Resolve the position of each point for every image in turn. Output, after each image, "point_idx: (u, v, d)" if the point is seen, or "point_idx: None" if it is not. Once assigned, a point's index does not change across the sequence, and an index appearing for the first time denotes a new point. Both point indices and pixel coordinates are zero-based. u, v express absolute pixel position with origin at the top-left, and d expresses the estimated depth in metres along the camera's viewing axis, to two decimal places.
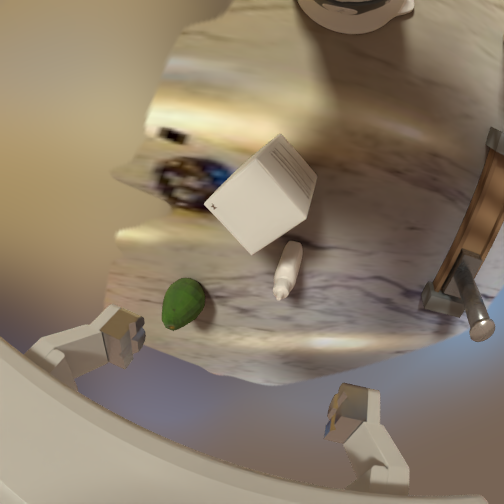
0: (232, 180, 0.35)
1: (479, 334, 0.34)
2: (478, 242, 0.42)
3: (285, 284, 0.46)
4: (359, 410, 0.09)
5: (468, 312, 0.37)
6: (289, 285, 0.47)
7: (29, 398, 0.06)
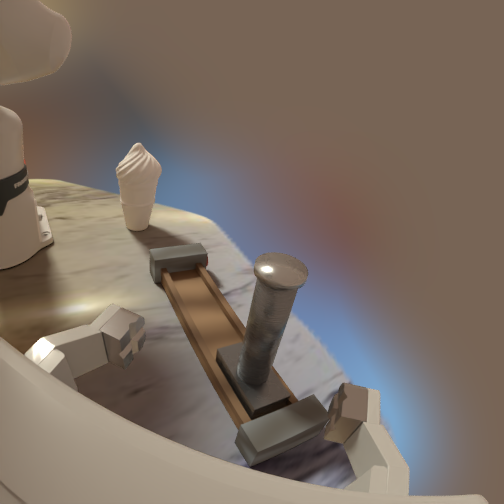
0: None
1: (283, 272, 0.23)
2: (230, 344, 0.36)
3: None
4: (359, 410, 0.09)
5: (255, 310, 0.25)
6: None
7: (29, 398, 0.06)
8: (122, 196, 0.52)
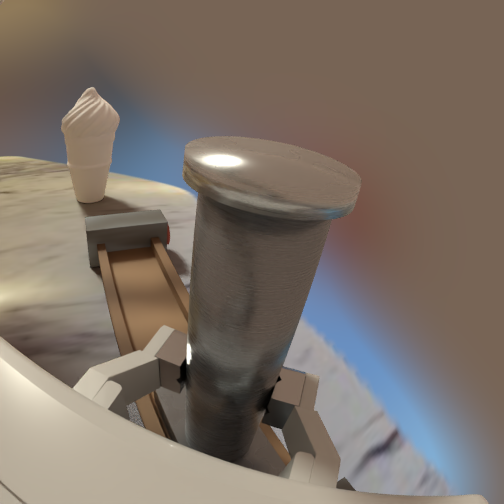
0: None
1: (281, 164, 0.06)
2: None
3: None
4: (292, 394, 0.10)
5: (197, 304, 0.08)
6: None
7: (29, 398, 0.06)
8: (68, 156, 0.36)
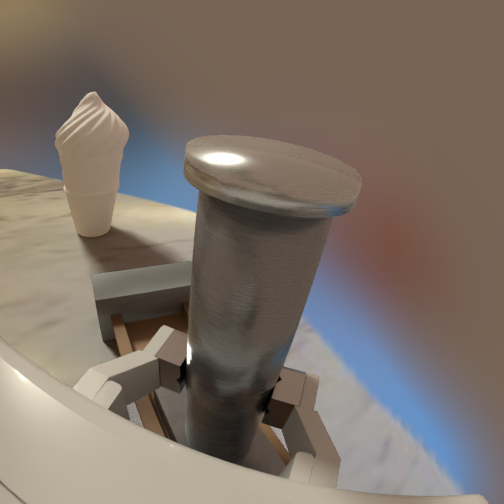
0: None
1: (282, 162, 0.06)
2: None
3: None
4: (292, 394, 0.10)
5: (198, 303, 0.08)
6: None
7: (29, 398, 0.06)
8: (64, 180, 0.29)
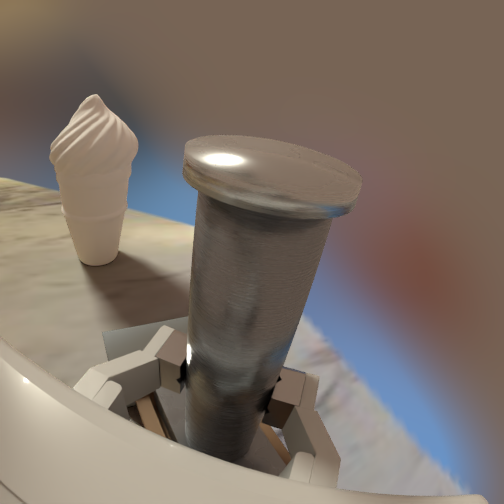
0: None
1: (281, 163, 0.06)
2: None
3: None
4: (292, 394, 0.10)
5: (197, 303, 0.08)
6: None
7: (29, 398, 0.06)
8: (62, 201, 0.24)
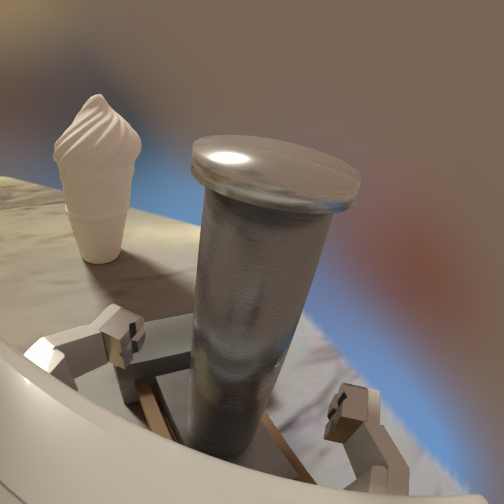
0: None
1: (285, 161, 0.07)
2: None
3: None
4: (359, 410, 0.09)
5: (203, 296, 0.08)
6: None
7: (29, 398, 0.06)
8: (66, 199, 0.25)
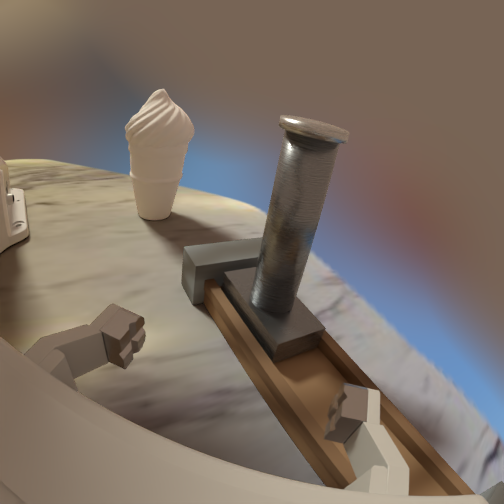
0: None
1: (318, 125, 0.16)
2: None
3: None
4: (359, 410, 0.09)
5: (281, 184, 0.18)
6: None
7: (29, 398, 0.06)
8: (134, 167, 0.34)
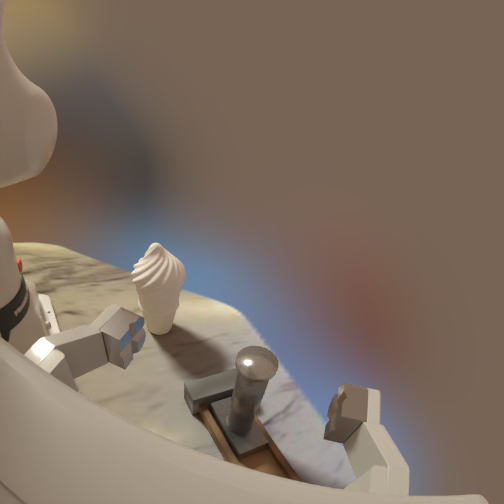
0: None
1: (258, 366, 0.28)
2: None
3: None
4: (359, 410, 0.09)
5: (238, 389, 0.30)
6: None
7: (29, 398, 0.06)
8: (141, 303, 0.46)
